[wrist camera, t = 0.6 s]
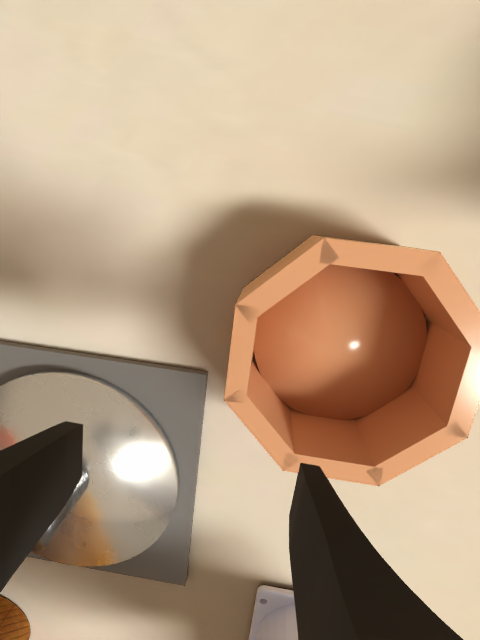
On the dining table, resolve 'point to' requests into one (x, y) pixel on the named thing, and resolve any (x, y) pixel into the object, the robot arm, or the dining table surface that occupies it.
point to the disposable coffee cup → (12, 622)
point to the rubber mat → (170, 411)
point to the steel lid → (97, 465)
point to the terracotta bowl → (355, 359)
